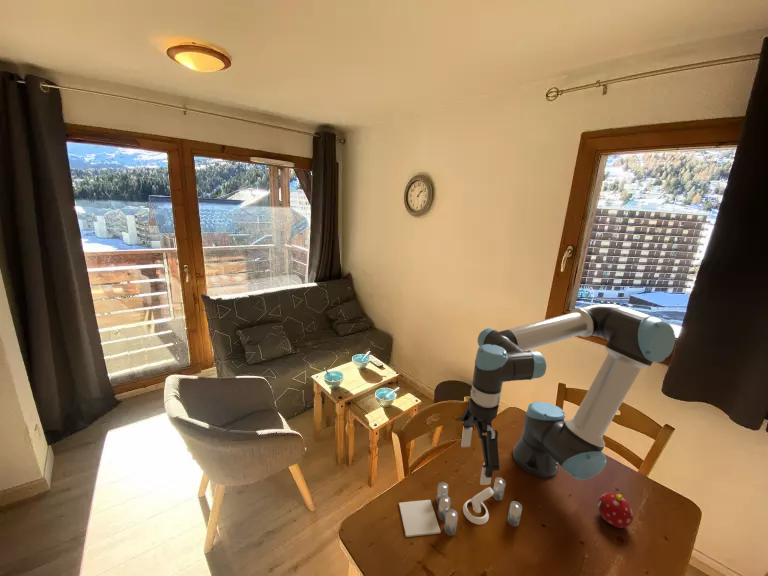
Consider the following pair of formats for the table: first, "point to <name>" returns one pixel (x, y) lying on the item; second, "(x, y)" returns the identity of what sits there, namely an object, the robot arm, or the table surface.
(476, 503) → the hook
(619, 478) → the table surface
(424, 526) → the felt pad
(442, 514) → the spacer
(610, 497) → the christmas ornament
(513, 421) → the table surface
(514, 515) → the cylinder
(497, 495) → the cylinder
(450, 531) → the cylinder
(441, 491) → the cylinder
